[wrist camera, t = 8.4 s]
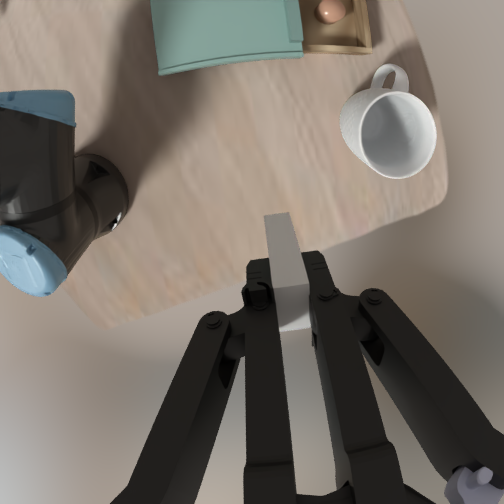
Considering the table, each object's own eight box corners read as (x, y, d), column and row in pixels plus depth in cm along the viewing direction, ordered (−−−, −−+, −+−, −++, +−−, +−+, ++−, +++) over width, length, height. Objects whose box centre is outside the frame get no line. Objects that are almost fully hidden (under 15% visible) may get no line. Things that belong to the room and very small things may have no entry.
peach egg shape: (315, 24, 31) (321, 19, 28) (312, 3, 29) (317, -3, 26) (339, 25, 30) (347, 21, 27) (336, 4, 28) (343, -1, 25)
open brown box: (240, 57, 34) (238, 54, 31) (230, -17, 27) (228, -27, 24) (361, 55, 33) (372, 53, 30) (351, -17, 26) (361, -25, 23)
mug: (341, 54, 34) (375, 46, 23) (404, 76, 35) (451, 82, 24) (322, 143, 42) (348, 168, 31) (384, 159, 43) (422, 188, 32)
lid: (165, 75, 33) (153, 75, 29) (154, -13, 25) (141, -23, 21) (299, 58, 32) (306, 54, 28) (287, -32, 24) (292, -46, 20)
